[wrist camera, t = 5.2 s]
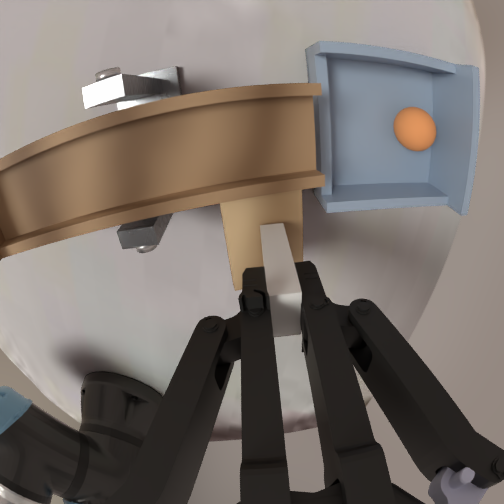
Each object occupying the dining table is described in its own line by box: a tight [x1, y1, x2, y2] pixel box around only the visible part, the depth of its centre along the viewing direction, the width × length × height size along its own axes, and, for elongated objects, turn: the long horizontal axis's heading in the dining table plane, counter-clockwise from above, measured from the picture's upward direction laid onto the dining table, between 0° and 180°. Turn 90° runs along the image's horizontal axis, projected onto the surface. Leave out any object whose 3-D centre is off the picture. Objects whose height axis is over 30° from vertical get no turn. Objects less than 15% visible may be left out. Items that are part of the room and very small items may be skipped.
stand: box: [82, 66, 181, 253], centre depth 17 cm, size 5×11×8 cm, turn 6°
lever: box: [0, 83, 325, 291], centre depth 15 cm, size 22×13×3 cm, turn 96°
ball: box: [393, 107, 436, 151], centre depth 18 cm, size 4×4×4 cm
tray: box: [305, 41, 480, 215], centre depth 17 cm, size 12×12×6 cm
